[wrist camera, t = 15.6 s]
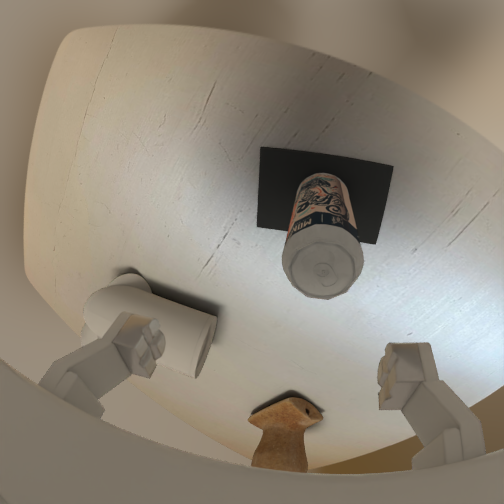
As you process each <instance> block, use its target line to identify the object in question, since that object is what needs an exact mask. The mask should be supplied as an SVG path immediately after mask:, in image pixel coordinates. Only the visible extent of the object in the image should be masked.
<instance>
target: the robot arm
mask: <svg viewBox="0 0 504 504" xmlns="http://www.w3.org/2000/svg"><path fill="white" fill-rule="evenodd" d="M160 326H161V325H160V323H159V321H158V319H155V318H151V317H146V316H142V315H138V314H133V313H129V312H125V311H124V312H122V313H120V314H119V316H118V317H117V318H116V320H115V321H114V322H113V324H112V325H111V326H110V328H109V329H108V330H107V332H106V333H105V334H104V336H103V337H102V339H96V340H95V341H93V342H91V343H89V344H87V345H85V346H83V347H81V348H79V349H78V350H76V351H74V352H72V353H70V354H68V355H66V356H64V357H62V358H61V359H59V360H57V361H55V362H54V363H53V364H52V365H51V367H50V368H49V369H48V371H47V372H46V374H45V375H44V376H43V378H42V379H41V381H40V382H39V384H36V383H35V382H33V381H32V380H30V379H29V378H27V377H26V376H24V375H23V374H21V373H20V372H19V371H17V370H16V369H14V368H13V367H12V366H10V365H9V364H8V363H6V362H5V361H4V360H2V359H1V358H0V504H504V449H501V450H498V451H495V452H492V453H489V454H486V451H485V444H484V437H483V431H482V426H481V421H480V420H479V419H478V418H477V417H476V416H475V415H474V414H473V412H472V411H471V410H470V409H469V408H468V407H467V406H466V405H465V404H464V402H463V401H462V400H461V399H460V398H459V397H458V396H457V395H456V394H455V393H454V392H453V391H452V390H451V388H450V387H449V386H448V385H447V384H446V383H445V382H444V381H443V380H439V377H438V373H437V368H436V364H435V360H434V356H433V353H432V349H431V345H430V344H429V343H388V344H387V346H386V348H385V356H384V357H382V358H381V360H380V363H379V367H378V376H377V378H378V384H379V385H380V386H381V390H380V392H379V394H378V395H379V410H401V411H402V413H403V414H404V416H405V417H406V419H407V420H408V422H409V424H410V425H411V427H412V428H413V430H414V431H415V433H416V434H417V436H418V438H419V439H420V441H421V442H422V444H423V445H424V447H425V448H423V449H422V450H421V451H420V452H418V454H416V455H415V456H414V457H413V458H412V470H408V471H400V472H390V473H375V474H315V473H300V472H289V471H280V470H272V469H265V468H258V467H252V466H246V465H241V464H236V463H230V462H226V461H221V460H217V459H213V458H208V457H205V456H201V455H197V454H193V453H190V452H186V451H182V450H179V449H176V448H173V447H169V446H167V445H164V444H161V443H158V442H155V441H152V440H149V439H146V438H144V437H141V436H139V435H136V434H133V433H131V432H129V431H126V430H124V429H121V428H119V427H117V426H114V425H112V424H110V423H108V422H105V421H103V420H101V419H100V418H101V416H102V415H103V413H104V411H105V409H104V407H103V405H102V404H101V403H100V402H99V401H98V399H99V398H101V397H102V396H103V395H105V394H106V393H108V392H109V391H110V390H112V389H113V388H114V387H116V386H117V385H118V384H120V383H121V382H122V381H124V380H125V379H127V378H128V377H129V376H131V375H132V374H135V375H138V376H142V377H146V378H149V379H150V377H151V375H152V373H153V372H154V370H155V368H156V366H157V364H156V360H157V359H159V358H160V357H162V355H163V353H164V350H165V345H166V340H165V336H164V334H163V333H162V332H161V331H160V330H159V328H160Z"/></svg>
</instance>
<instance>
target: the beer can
mask: <svg viewBox="0 0 504 504" xmlns="http://www.w3.org/2000/svg"><path fill="white" fill-rule="evenodd" d="M363 263H364V257H363V251H362V248H361V245H360V241H359V237H358V232H357V228H356V223H355V219H354V215H353V211H352V207H351V203H350V199H349V193H348V190H347V187H346V186H345V184H344V183H343V182H342V181H341V180H340V179H339V178H337V177H336V176H334V175H331V174H327V173H317V174H314V175H311V176H309V177H308V178H306V179H305V180H304V181H303V182H302V183H301V184H300V186H299V188H298V191H297V195H296V200H295V204H294V208H293V213H292V217H291V221H290V225H289V230H288V234H287V238H286V242H285V246H284V250H283V254H282V265H283V270H284V272H285V274H286V276H287V278H288V279H289V281H290V282H291V284H292V286H293V287H295V288H296V289H297V290H299V291H300V292H301V293H303V294H304V295H305V296H306V297H310V298H318V299H326V300H329V299H331V298H334V297H336V296H339V295H341V294H344V293H346V292H347V291H348V290H349V288H350V287H351V286H352V284H353V283H354V282H355V281H356V280H357V278H358V277H359V275H360V274H361V271H362V268H363Z"/></svg>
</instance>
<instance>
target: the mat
mask: <svg viewBox="0 0 504 504" xmlns="http://www.w3.org/2000/svg"><path fill="white" fill-rule="evenodd" d="M392 172H393V166H390V165H385V164H380V163H375V162H370V161H364V160H359V159H353V158H347V157H341V156H334V155H328V154H321V153H313V152H306V151H297V150H289V149H279V148H269V147H261V149H260V170H259V191H258V212H257V227H261V228H268V229H275V230H283V231H288V230H289V225H290V221H291V217H292V213H293V208H294V204H295V200H296V195H297V191H298V188H299V186H300V184H301V183H302V182H303V181H304V180H305V179H306V178H308V177H309V176H311V175H314V174H317V173H327V174H331V175H334V176H336V177H337V178H339V179H340V180H341V181H342V182H343V183H344V184H345V186H346V187H347V190H348V193H349V199H350V203H351V207H352V211H353V215H354V219H355V223H356V228H357V232H358V237H359V241H360V242H363V243H369V244H375V245H376V242H377V238H378V234H379V230H380V226H381V222H382V218H383V214H384V210H385V205H386V201H387V196H388V192H389V187H390V182H391V177H392Z"/></svg>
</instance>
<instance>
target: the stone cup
mask: <svg viewBox="0 0 504 504" xmlns="http://www.w3.org/2000/svg"><path fill="white" fill-rule="evenodd" d="M321 420H323V416H322V415H321V414H320V413H319V411H318V410H317V409H316V408H315V407H314V406H313V405H312V404H311V403H309V402H307V401H306V400H303V399H301V398H295V397H290V398H286V399H284V400H282V401H279V402H277V403H275V404H273V405H271V406H269V407H267V408H264V409H262V410H260V411H259V412H257V413H255V414H253V415H252V416H250V417H249V419H248V421H249V422H250V423H251V424H253V425H255V426H257V427H258V428H260V429H262V430H263V436H262V438H261V441H260V443H259V445H258V447H257V449H256V450H255V452H254V455H253V459H252V464H251V466H252V467H258V468H265V469H272V470H280V471H289V472H300V473H307V470H308V462H307V458H306V453H305V446H304V431H305V429H306V428H308V427H309V426H311V425H313V424H315V423H317V422H319V421H321Z"/></svg>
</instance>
